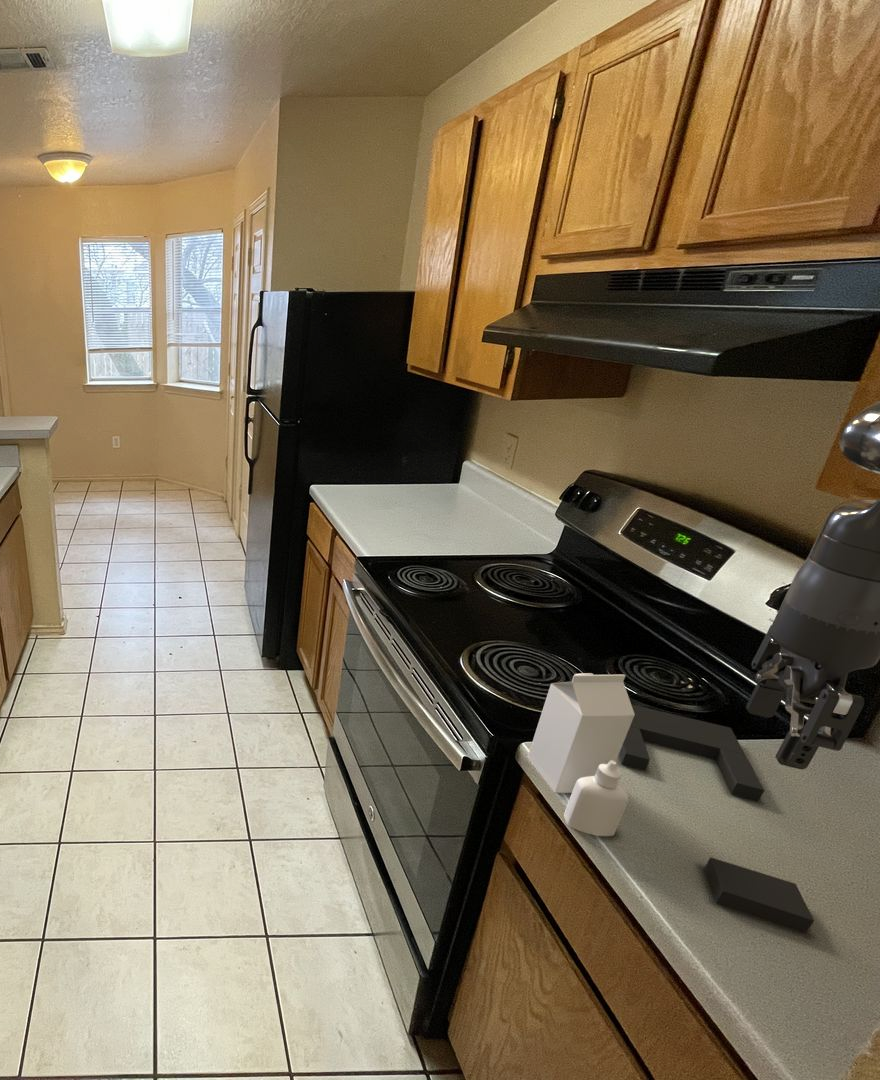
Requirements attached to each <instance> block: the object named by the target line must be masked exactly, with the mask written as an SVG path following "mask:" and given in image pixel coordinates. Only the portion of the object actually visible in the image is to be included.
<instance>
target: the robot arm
mask: <svg viewBox="0 0 880 1080" xmlns="http://www.w3.org/2000/svg"><path fill="white" fill-rule="evenodd" d="M838 444H839V448H840V451H841V454H842V455H843V456H844V457H845V458H846V459H847V460H848V461H849V462H850V463H852V464H853V465H855V466H857V467H858V468H861V469H863V470H865V471H869V472H871V473H874V474H877V475H880V399H879V400H877V401H875V402H873V403H872V404H869V405H868V406H866V407H864V408H863V409H862V410H860V411H859V412H857V413H856V414H855V415H854V416H852V418H851V419H850V420H849V421H847V423H846V424H845V425H844V427H843V429H842V431H841V433H840V436H839V441H838ZM818 532H819V533H818V534H817V536H816V539H815V541H814V543H813V545H812V546H811V549H810V551H809V553H808V556H807V557H806V559H805V560H804V562H803V563H802V565H801V566H800V567H799V568H798V570H797V572H796V573H795V575H794V577H793V579H792V581H791V584H789V585H790V586H789V587H788V589H787V592H786V594H785V596H784V599H783V600H782V603H781V605H780V606H779V609H778V611H777V613H776V615H775V618H774V619H773V621H772V623H771V625H770V626H769V628H768V630H767V632H766V634H765V635H764V638H763V640H762V642H761V643H760V645H759V648H758V649H757V651H756V654H755V655H754V657H753V659H752V661H751V663H750V664H751V669H752V670H757V672H756V673H755V676H754V681H755V682H756V684H755V687H754V688H753V690H752V693H751V695H750V697H749V698H748V701H747V704H746V706H745V708H746V710H747V712H748V713H749V714H750V715H753V716H758V717H763V718H769V719H770V718H772V717H774V716H775V714H776V712H777V710H778V708H779V707H780V705H781V702H782V701H783V699H784V697H785V702H784V709H785V711H787V713H789V714H790V722H789V723H790V724H789V730H788V732H787V733H786V735H785V736H784V739H783V741H782V743H781V745H780V746H779V748H778V750H777V752H776V754H775V759H776V760H777V762H778V764H780V765H781V766H785V767H789V768H793V769H797V770H805V769H807V768H808V767H809V765H810V763H811V762H812V760H813V758H814V756H815V754H817V753H816V752H817V751H818V749H819V748H822V749H826V750H827V749H828V750H832V751H836V752H839V751H841V750H842V748H843V747H844V745H845V743H846V741H847V739H848V737H849V736H850V733H851V731H852V729H853V727H854V725H855V724H856V722H857V719H858V718H859V716H860V714H861V712H862V710H863V708H864V706H865V698H864V697H863V696H861V695H857V694H851V693H849V692H847V691H846V690H845V687H846V682H847V679H848V675H849V673H852V672H854V671H858V670H865V669H869V668H873V667H874V666H875V665H876V664H878V662H879V661H880V497H879V498H878V499H854V500H847V501H845V502H844V501H843V502H842V503H839V504H838V505H837V506H835V507H833V509H832V510H831V511H830V512H829V514H828V515H827V517H826V519H825V521H824V522H823V524H822V526H821V528H820V531H818ZM770 656H772V658H770V659H769V660H767V658H768V657H770ZM801 702H804V703H808V704H814V706H813V707H811V706H806V705H803V704H802V703H801ZM805 716H806V717H808V718H807V720H806V722H805ZM832 729H833V730H832Z"/></svg>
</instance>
